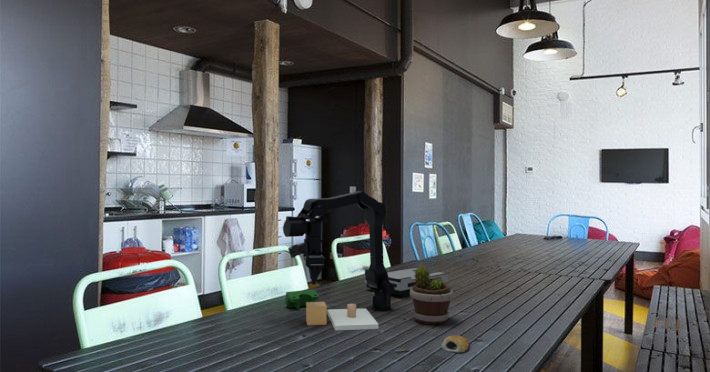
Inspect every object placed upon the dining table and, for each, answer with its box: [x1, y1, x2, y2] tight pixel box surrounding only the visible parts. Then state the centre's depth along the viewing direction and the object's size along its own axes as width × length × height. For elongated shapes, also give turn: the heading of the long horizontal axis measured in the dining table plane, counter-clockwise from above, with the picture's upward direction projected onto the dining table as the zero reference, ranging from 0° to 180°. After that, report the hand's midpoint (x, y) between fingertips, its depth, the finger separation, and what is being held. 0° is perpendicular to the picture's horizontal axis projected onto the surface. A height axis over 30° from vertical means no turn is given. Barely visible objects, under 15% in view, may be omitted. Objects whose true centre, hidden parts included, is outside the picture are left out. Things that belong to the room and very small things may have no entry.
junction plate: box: [327, 303, 379, 332], centre depth 168 cm, size 14×20×6 cm
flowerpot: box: [409, 262, 454, 325], centre depth 170 cm, size 14×15×20 cm
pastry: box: [441, 334, 470, 353], centre depth 143 cm, size 9×7×4 cm
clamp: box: [284, 289, 320, 311], centre depth 185 cm, size 12×6×9 cm, turn 112°
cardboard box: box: [305, 301, 328, 326], centre depth 166 cm, size 6×6×6 cm
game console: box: [364, 267, 449, 299], centre depth 219 cm, size 21×32×8 cm, turn 133°
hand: (312, 281), depth 170 cm, fingers open, 9 cm apart
